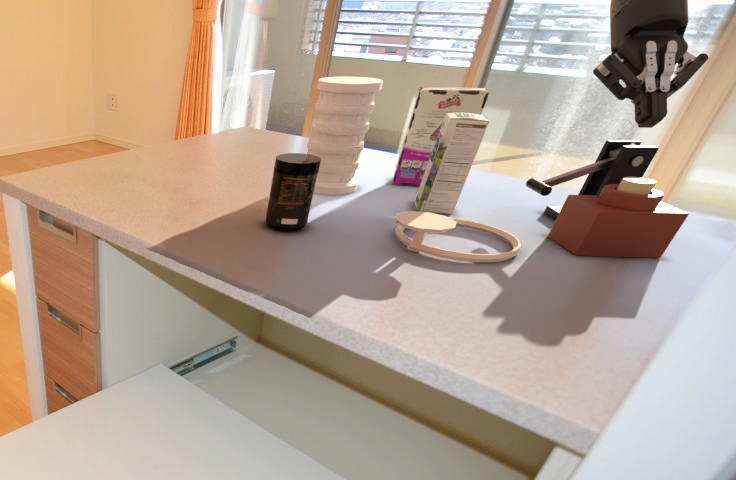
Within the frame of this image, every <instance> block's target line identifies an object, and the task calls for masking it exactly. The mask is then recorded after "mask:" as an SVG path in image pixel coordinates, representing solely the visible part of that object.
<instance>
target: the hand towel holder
mask: <svg viewBox="0 0 736 480" xmlns="http://www.w3.org/2000/svg"><path fill="white" fill-rule="evenodd" d="M394 220H395V222H396V223H397V224H398V226H396V229H395V234H396V237H397V240H399V241H400V243H402V244H403V245H405V246H406V247H407V248H408V250H409V251H410V252H414V253H419V252H420V253H423V254H425V255H429V256H433V257H436V258H441V259H445V260H452V261H457V262H467V263H497V262H506V261H508V260H511V259H513V258H514V257H516V256H517V255H518V254H520V253H521V252H522V242H521V241H520V239H519V238H518V237H517V236H516V235H514V234H512V233H510V232H509V231H507V230H504V229H501V228H499V227H496V226H493V225H490V224H486V223H484V222H483V223H482V222H478V221H473V220H469V219H463V218H462V219H460V218H453V217H449V216H447V215H443V214H440V213H433V212H420V211H417V210H408V211H404V212H403V211H402V212H397V213H396V214H395V216H394ZM456 227H458V228H464V229H469V230H473V231H478V232H482V233H485V234H487V235H491V236H494V237H496V238H498V239H501V240H503V241H505V242H506V243H508V244H510V245H511V247H512V249H511V250H508V251H505V252H498V253H470V252H461V251H455V250H449V249H444V248H440V247H435V246H432V245H429V244H426V243H424V241H425V238H426V236H427V233H432V234H439V233H447V232H451V231H452V230H453V229H455V228H456ZM405 229H408V230H412V231H414V234H413V237H410V236H408V235H407V234H406V233H405V232H404V230H405Z"/></svg>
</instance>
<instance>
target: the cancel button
mask: <svg viewBox="0 0 736 480" xmlns="http://www.w3.org/2000/svg"><path fill="white" fill-rule="evenodd" d="M656 185H657V181H656V180H654V179H650V178H647V177H642V178H641V177H624V178H623V179H622V181H621V183H620V184H619V186H618V188H617V190H618V191H621V192H625V193H631V194H638V195H649V194H650V192H651V191H652V189H654V187H655V186H656Z"/></svg>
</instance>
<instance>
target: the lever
mask: <svg viewBox="0 0 736 480" xmlns="http://www.w3.org/2000/svg"><path fill="white" fill-rule="evenodd" d="M627 146H639V145H636V144H633V143H632V144H629V145H627ZM621 148H622V147H621ZM621 148H618V149H615V150H612V151H610V158H607V159H604V160H601V161H598V162H596V163H595V162H593V163H590V164H587V165H584V166H581V167H579V168H576V169H573V170H570V171H567V172H564V173H561V174H558V175H555V176H552V177H549V178H547V179H544V180H539V179H537V178H536V177H531V178H529V179H527V180H526V182H525V187H527V188H528V189H530V190H532V191H533V192H535V193H537V194H539V195H541V196H543V197H546V196H549V195H550V194H551V193H552V191H553V187H555V186H558V185H561V184H564V183H566V182H570V181H572V180H575V179H578V178H581V177H584V176H586V175H587V176H588V175H589V174H590V173H593V172H596V171H599V170H601V169H604V168H607V167H611V166H612V164H613V162H614V161H615V159H616V157H617V155H618V153H619V151H620V149H621Z"/></svg>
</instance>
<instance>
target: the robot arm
mask: <svg viewBox="0 0 736 480" xmlns="http://www.w3.org/2000/svg"><path fill="white" fill-rule="evenodd" d="M609 24H610V25H609V29H610V30H609V31H610V53H611V54H609V55H607V56H606V57H605V58H604V59H603V60H602V61H600V63H599V64H597V66H596V67H595V68H593V70H592V73H593V75H594V76H595V77H596V78H597V79H598V80H599V81H600V82H601V83H602V85H604V86H605V87H606V88H607V89H608V91H609V92H611V94H612V95H613V96H614V97H615V98H616V99H617V100H619V101H623V100H625V99H628V100H630V103H631V104H633V105H634V121H635V123H636V124H637V127H638V128H642V129H644V128H645V129H647V128H648V129H650V128H651V129H652V128H653V127H655V126H657V125H658V124H659V123H661V122H662V121H663V120H664V118H666V116H667V114H668V99H669V98H670V97H671V96H672V95H674V94H675V93H677V92H678V91H679V90H680V89H682V88H683V87H684V86H685V85H686V84H687V83H688V82H689V81H690V80H691V79H692V78H693V76H694V75H695V74H696V73H697V72H698V71H699V70H700V69H701V67H703V65H704V64H705V63H706V62H707V61H708V60H709V55H708V54H707V53H704V52H703V53H700V54H698V55H697V56H695V55H694V54H692V53H690V52H689V51H688V50H689V44H688V42H687V41H686V39H685V33H686V31H687V28H688V27H687V26H688V25H689V1H688V0H610V4H609ZM675 67H676V69H675ZM673 74H674V75H675V76H674V77H673V78H672V76H673ZM671 78H672V79H671ZM620 81H622V83H624V84H625V87H624V86H623V85H622V84H621V83H620Z"/></svg>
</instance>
